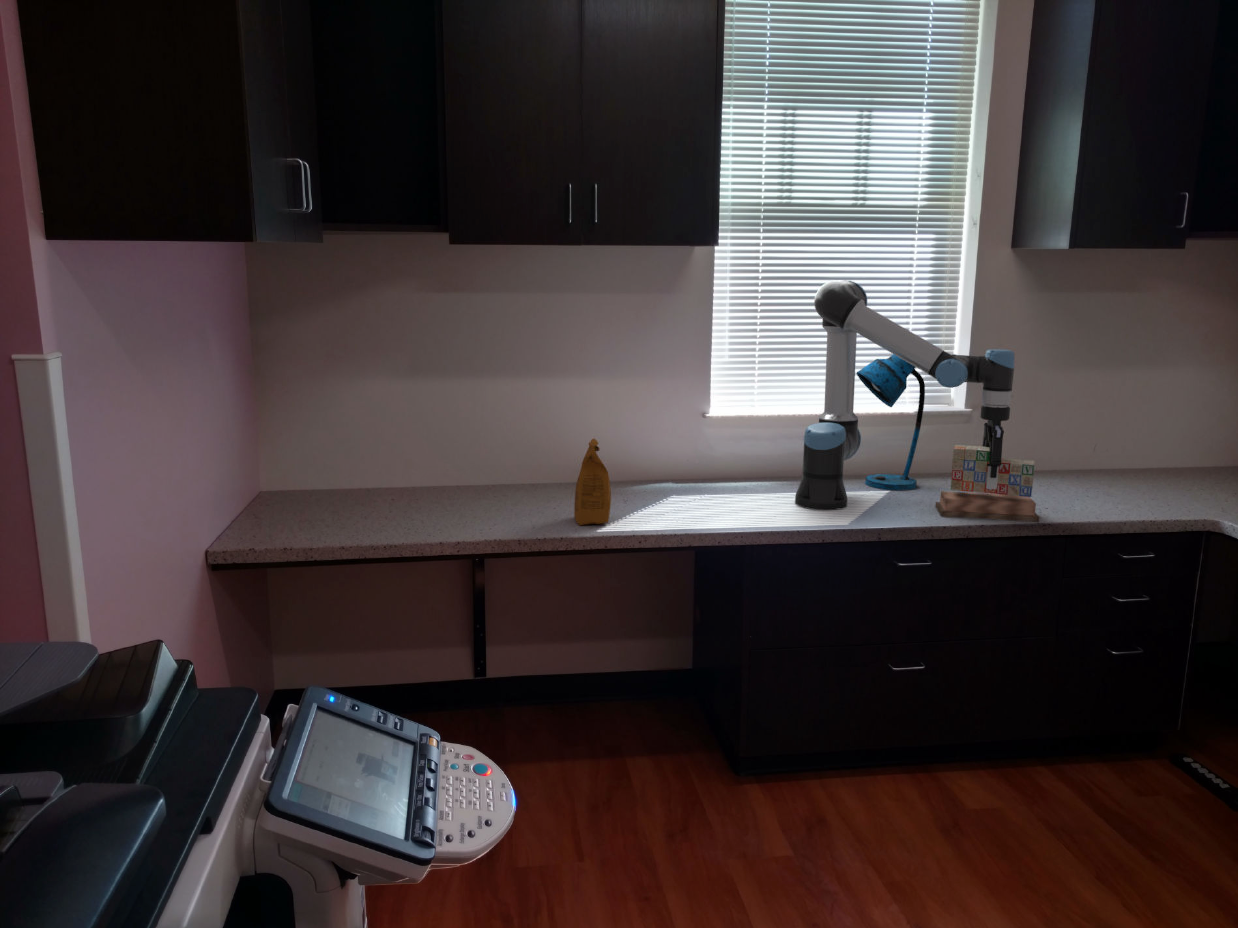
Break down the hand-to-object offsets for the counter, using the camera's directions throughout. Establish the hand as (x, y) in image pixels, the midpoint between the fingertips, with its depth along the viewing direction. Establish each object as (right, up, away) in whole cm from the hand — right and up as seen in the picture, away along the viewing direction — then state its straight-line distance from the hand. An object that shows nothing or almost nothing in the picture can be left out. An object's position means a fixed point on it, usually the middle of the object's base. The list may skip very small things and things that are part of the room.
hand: (988, 485), depth 264 cm
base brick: (0, -8, +2) cm, 8 cm away
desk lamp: (-19, -1, +37) cm, 42 cm away
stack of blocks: (+1, -2, 0) cm, 2 cm away
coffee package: (-112, -10, -10) cm, 113 cm away
